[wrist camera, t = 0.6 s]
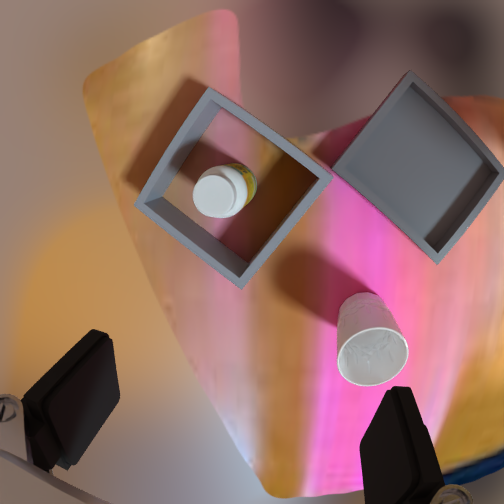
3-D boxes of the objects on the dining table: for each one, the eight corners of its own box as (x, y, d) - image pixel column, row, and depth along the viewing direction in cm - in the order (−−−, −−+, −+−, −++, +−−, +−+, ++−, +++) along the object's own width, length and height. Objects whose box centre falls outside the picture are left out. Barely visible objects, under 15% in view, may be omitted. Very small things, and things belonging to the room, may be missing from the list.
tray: (403, 74, 31) (410, 69, 28) (497, 170, 31) (507, 173, 29) (330, 167, 36) (331, 169, 33) (430, 257, 37) (437, 265, 34)
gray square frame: (221, 94, 35) (208, 86, 31) (330, 173, 36) (333, 177, 31) (152, 198, 41) (133, 205, 36) (249, 273, 42) (241, 289, 37)
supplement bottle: (213, 204, 40) (184, 221, 31) (215, 161, 38) (185, 165, 29) (256, 208, 39) (238, 227, 30) (259, 164, 37) (242, 169, 28)
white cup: (339, 284, 40) (345, 323, 31) (397, 290, 39) (417, 330, 29) (328, 336, 42) (330, 383, 33) (383, 341, 41) (396, 388, 32)
